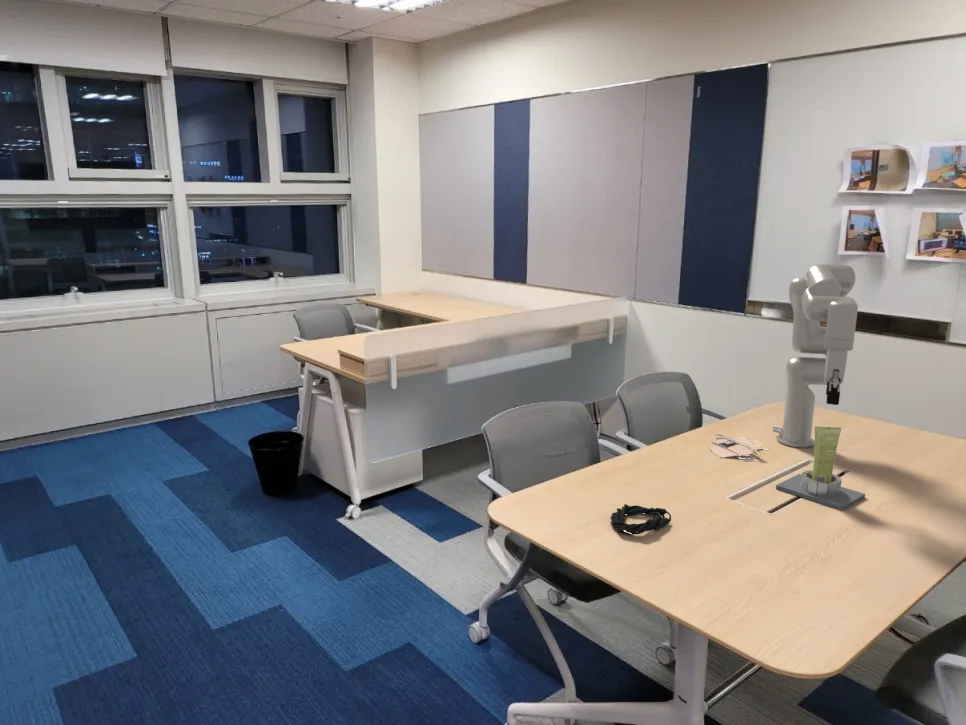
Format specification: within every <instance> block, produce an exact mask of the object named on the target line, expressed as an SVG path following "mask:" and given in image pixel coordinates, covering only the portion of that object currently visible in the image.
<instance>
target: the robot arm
mask: <svg viewBox="0 0 966 725" xmlns="http://www.w3.org/2000/svg"><path fill="white" fill-rule="evenodd" d="M855 283H856V273H855V270H854V269H853V267H852V266H850V265H848V264H827V263H826V264H824V263H823V264H821V263H820V264H816V265H812V266H811V267H810V268H808V269H807V271H806V274H805V276H802V277H797V278H794V279H792V280H791V282H790V283H789V287H788V297H789V301H790V305H791V308H792V314H793V318H792V319H793V321H792V322H793V323H792V335H791V336H792V337H791V338H792V340H791V344H792V345H791V346H792V349H793V350H794V352H797V353H800V354H809V355H810V354H815V355H824V356H825V357H823V358H822V357H812V356H811V357H808V356H807V357H806V356H797V357H792V358H790V359H789V360H788V361H787V363H786V365H785V377H786V392H785V403H784V414H783V423H782V426H779V425H776V424H774V425H773V426H772V432H773V433H778V434H779V435H777V438H776V439H777V442H779V443H780V444H782V445H784V446H788V447H794V448H811V447H815V438H812V432H813V431H812V430H813V421H814V413H815V412H814V411H815V405H816V404H815V403H816V395H815V393H814V392H813V390H812V389H811V388H810V387H809V385H815V386H817V385H818V386H826V390H825V391H826V392H825V395H826V404H827V405H834V406H838V405H839V404H840V396H841V395H840V394H841V391H840V389H841V384H843V383H844V378H845V372H846V367H847V361H848V360H847V359H848V355H849V354H848V352H850V351H851V352H852V351H853V350H854V342H855V334H856V327H857V317H858V311H859V310H858V307H859V306H858V303H857V302H856V300H855V299H854V298H852V297H851V296H850V297H849V296H848V295H849V294H850V292H851V291H852V289H853V288H854V286H855ZM820 322H826V326H823V327H822V326H821V323H820Z"/></svg>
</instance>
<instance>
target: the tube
mask: <svg viewBox="0 0 966 725" xmlns="http://www.w3.org/2000/svg"><path fill="white" fill-rule="evenodd" d="M841 431H842V427H839V426H838V427H835V426H832V427H831V426H814V440H815V445H814V448H813V449H814V451H813V452H814V453H813V466H812V467H813V468H812V470H813V475H812V480H816V481H819V482H831V477H832V474H833V470H834V466H835V458H836V454H837V449H838V443H839V439H840V435H841Z"/></svg>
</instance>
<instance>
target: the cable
mask: <svg viewBox="0 0 966 725" xmlns="http://www.w3.org/2000/svg"><path fill="white" fill-rule="evenodd" d="M641 513H645V514H647V515H646V516H652V515H654V517H653V518H652V519H651V518H649V519H647V520H645V522H642V523H641V522H640V523H629V524H628V523H626V521H625V520H626V515H625V514H627V515H628V516H637V515H639V514H641ZM665 514H667V515H668V516H669V518H668V517H666V516H665ZM641 515H642V514H641ZM609 518H610V520H611V524H612V525H614V526H613V527H614V528H615V527H616V528H617V529H618V530H617V532H618V531H619V532H620V531H622V530H626V531H627V532H630V533H632V534H637V535H640V534H644V533H645V532H650V531H656V530H657V531H659V530H661V529H663V528H665V527H666V526H665V525H667V524H668V525H669V524H670V522H671V521H672V515H671V513H670V512H669V511H667V509H665V508H661V507H643V506H642V505H641V506H640V505H628V504H626V503H625V504H624V505H623V506H621V508H618V507H617V508H616V512H613V513H611V516H610V517H609ZM668 525H667V526H668ZM664 526H665V527H664ZM662 527H663V528H662ZM616 528H615V529H616ZM660 528H661V529H660ZM658 529H659V530H658Z"/></svg>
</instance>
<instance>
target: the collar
mask: <svg viewBox="0 0 966 725" xmlns="http://www.w3.org/2000/svg"><path fill="white" fill-rule="evenodd" d="M801 475H802V478H801V489H802V490H804V491H805V492H807V493H810V494H813V495H817V496H824V497H826V496H827V497H832V496H837V495H838V494H840V488H841V487H842V486H841V485H842V479H841V477H840V476H838V475H837V474H834V473H832V477H831V482H819V481H816V480H812V475H813V469H811V470H806V471H803V472H801Z"/></svg>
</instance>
